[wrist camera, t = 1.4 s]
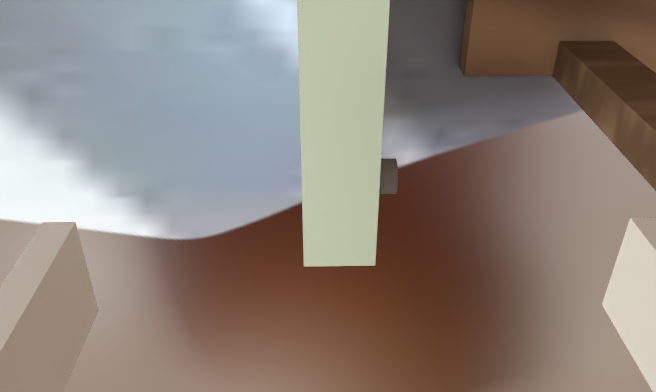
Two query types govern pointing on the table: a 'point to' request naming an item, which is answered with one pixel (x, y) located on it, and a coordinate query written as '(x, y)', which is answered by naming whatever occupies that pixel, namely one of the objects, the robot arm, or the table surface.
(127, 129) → the table surface
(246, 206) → the table surface
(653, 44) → the cabinet frame
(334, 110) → the beige flat panel
